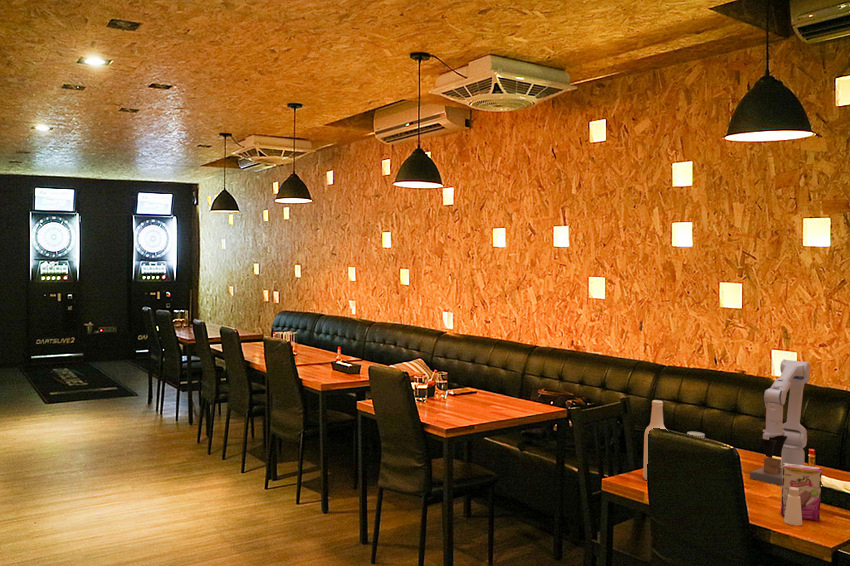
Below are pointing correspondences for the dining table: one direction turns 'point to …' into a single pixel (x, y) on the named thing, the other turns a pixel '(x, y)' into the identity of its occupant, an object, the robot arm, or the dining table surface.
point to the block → (772, 465)
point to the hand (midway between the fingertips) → (773, 455)
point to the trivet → (766, 476)
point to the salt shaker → (793, 508)
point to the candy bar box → (802, 488)
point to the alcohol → (654, 423)
